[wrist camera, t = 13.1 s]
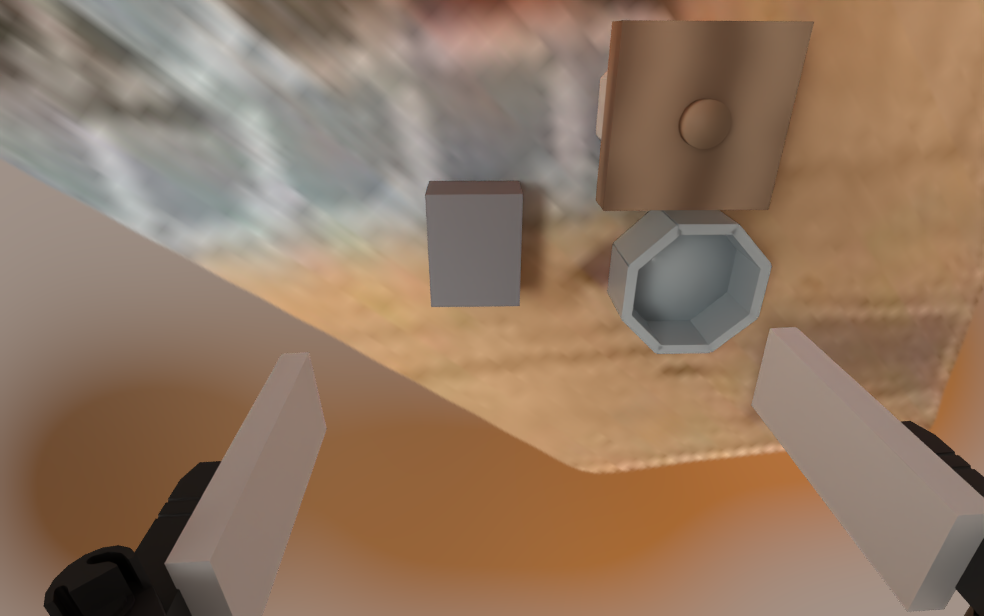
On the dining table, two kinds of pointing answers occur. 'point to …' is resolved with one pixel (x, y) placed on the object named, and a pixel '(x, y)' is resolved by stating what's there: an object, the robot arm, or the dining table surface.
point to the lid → (697, 113)
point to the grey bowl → (687, 280)
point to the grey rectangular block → (474, 242)
